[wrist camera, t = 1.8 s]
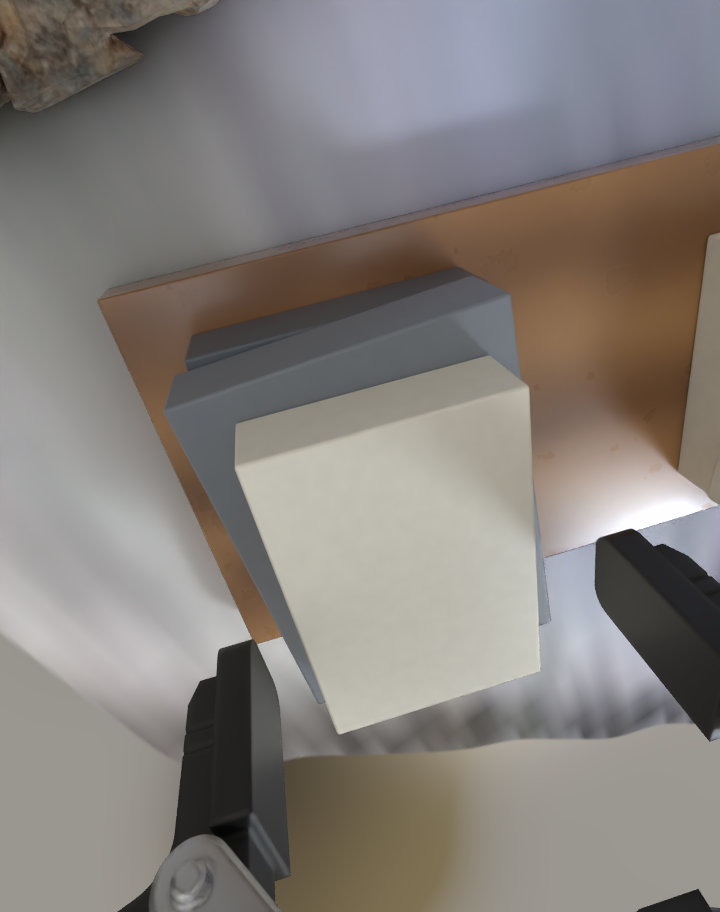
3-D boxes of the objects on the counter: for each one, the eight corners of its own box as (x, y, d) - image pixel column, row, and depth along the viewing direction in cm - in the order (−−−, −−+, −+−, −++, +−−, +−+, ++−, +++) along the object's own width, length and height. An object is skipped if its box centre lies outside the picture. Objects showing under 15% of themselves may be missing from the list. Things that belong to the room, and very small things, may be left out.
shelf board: (108, 288, 15) (95, 300, 14) (966, 73, 17) (1024, 66, 16) (253, 617, 23) (254, 645, 21) (849, 441, 24) (883, 457, 23)
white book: (234, 423, 12) (233, 467, 10) (489, 353, 12) (530, 384, 10) (327, 676, 16) (337, 736, 15) (511, 619, 17) (541, 672, 15)
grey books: (174, 329, 15) (151, 387, 11) (470, 253, 15) (544, 283, 12) (285, 612, 21) (295, 713, 17) (497, 549, 21) (552, 633, 18)
